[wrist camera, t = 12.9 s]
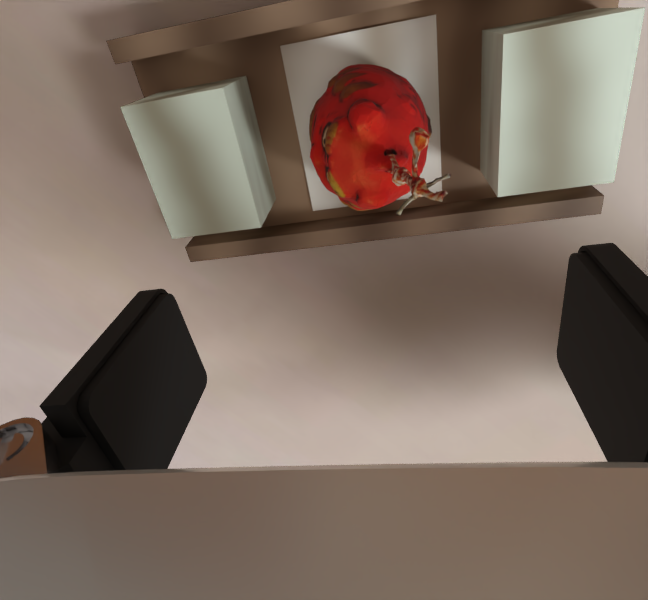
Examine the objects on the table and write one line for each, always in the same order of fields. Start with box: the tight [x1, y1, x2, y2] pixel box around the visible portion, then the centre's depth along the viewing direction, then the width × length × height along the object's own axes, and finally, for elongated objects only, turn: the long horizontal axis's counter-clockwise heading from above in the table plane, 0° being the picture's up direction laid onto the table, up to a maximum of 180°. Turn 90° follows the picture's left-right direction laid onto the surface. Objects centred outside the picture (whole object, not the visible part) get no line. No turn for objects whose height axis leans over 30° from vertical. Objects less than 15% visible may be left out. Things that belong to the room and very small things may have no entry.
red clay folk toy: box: [309, 64, 451, 215], centre depth 22 cm, size 8×7×15 cm
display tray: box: [107, 0, 645, 262], centre depth 27 cm, size 28×14×6 cm, turn 100°
